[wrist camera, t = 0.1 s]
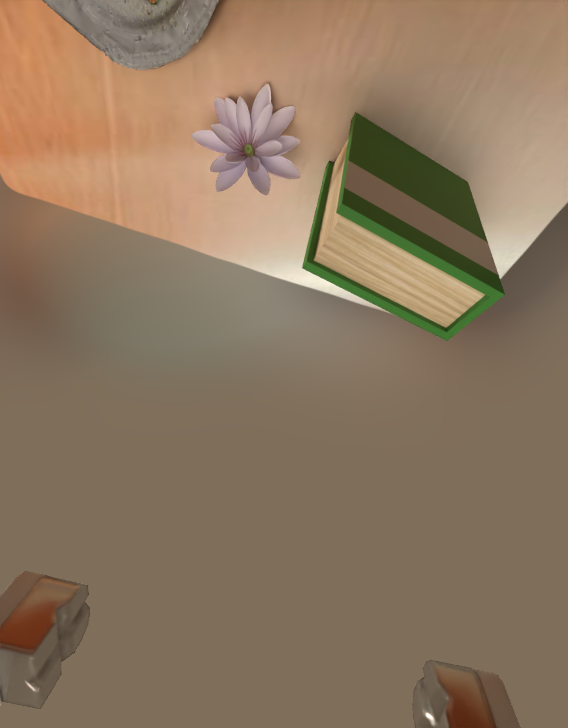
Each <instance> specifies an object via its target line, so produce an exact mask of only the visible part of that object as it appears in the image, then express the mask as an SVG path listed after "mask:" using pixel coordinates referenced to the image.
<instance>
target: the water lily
mask: <svg viewBox="0 0 568 728" xmlns="http://www.w3.org/2000/svg"><path fill="white" fill-rule="evenodd" d="M214 106H215V111H216V114H217V117H218V119H219V121H220V123H221V124H212V125H211V128H212V130H213V131H210V130H200V131H196V132H194V133H193V134H192V135H191V136H192V138H193V139H194V140H195V141H196V142H198V143H199V144H200V145H202V146H204V147H206V148H208V149H211V150H213V151H217V152H220V153H225V154H226V155H223V156H221V157H219V158H217V159H216V160H215V161H214V162H213V163H212V165H211V167H210V171H212V172H220V173H219V175H218V177H217V180H216V191H217V192H220V191H223V190H226V189H228V188H229V187H231V186H232V185H233V184H234V183H235V182H236V181H237V180H238V179H239V178H240V177H241V176H242V174H243V173H244V171H245V169H246V167H247V172H248V176H249V178H250V180H251V182H252V184H253V186H254V187H255V188H256V189H257V190H258V191H259V192H260V193H262V194H264V195H268V193H269V191H270V177H269V175H268V172H269V173H271V174H273V175H275V176H278V177H281V178H286V179H297V178H300V172H299V170H298V168H297V167H296V166H295V165H294V164H293V163H292V162H291V161H290V160H288V159H287V158H285V157H282V156H280V155H282V154H285V153H287V152H289V151H290V150H292V149H294V148H295V147H297V146H298V145H299V144H300V141H299V140H298V139H297V138H296V137H293V136H281V134H282V133H283V132H284V131H285V130H286V128H287V127H288V126H289V124H290V122H291V121H292V119H293V116H294V114H295V107H294V106H287V107H284V108H281V109H280V110H278V111H276V112H275V113H274V114H273V115H272V110H273V105H272V104H271V90H270V86H269V84H266V85H265V86H264V87H262V89H261V90H260V91H259V93H258V94H257V96H256V98H255V101H254V103H253V107H252V111H251V115H250V114H249V110H248V107H247V105H246V103H245V101H244V100H243V98H242V97H239V98H238V101H237V105H236V104H235V102H234V101H232V100H231V99H230V98H226V99H225V101H224V100H223V99H221V98H215V101H214Z"/></svg>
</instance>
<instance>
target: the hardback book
mask: <svg viewBox="0 0 568 728" xmlns="http://www.w3.org/2000/svg"><path fill="white" fill-rule="evenodd" d="M302 268H303V269H305V270H307V271H309V272H311V273H313V274H315V275H317V276H319V277H321V278H323V279H325V280H327V281H329V282H331V283H333V284H335V285H337V286H339V287H341V288H343V289H345V290H347V291H349V292H351V293H353V294H355V295H357V296H359V297H361V298H363V299H365V300H367V301H369V302H371V303H373V304H375V305H377V306H379V307H381V308H383V309H385V310H386V311H388V312H390V313H392V314H394V315H396V316H399V317H401V318H403V319H404V320H406V321H408V322H411V323H412V324H414V325H417V326H418V327H420V328H422V329H424V330H426V331H428V332H430V333H432V334H434V335H436V336H439V337H440V338H442V339H444V340H446V341H447V340H449V339H450V338H451V337H452V336H454V335H455V334H456V333H457V332H459V331H460V330H461V329H462V328H464V327H465V326H466V325H467V324H468V323H470V322H471V321H472V320H474V319H475V318H476V317H477V316H479V315H480V314H481V313H482V312H484V311H485V310H486V309H487V308H489V307H490V306H491V305H492V304H494V303H495V302H496V301H497V300H499V299H500V298H501V297H502V296H504V295H505V293H504V290H503V287H502V285H501V281H500V278H499V275H498V272H497V269H496V266H495V263H494V260H493V257H492V254H491V251H490V248H489V245H488V242H487V239H486V236H485V233H484V230H483V227H482V224H481V221H480V218H479V215H478V212H477V209H476V206H475V203H474V200H473V197H472V193H471V190H470V187H469V184H468V182H467V181H465V180H463V179H462V178H460V177H459V176H457V175H455V174H454V173H452V172H451V171H449V170H447V169H446V168H444V167H443V166H441V165H439V164H438V163H436V162H435V161H433V160H431V159H430V158H428V157H427V156H425V155H423V154H422V153H420V152H419V151H417V150H415V149H414V148H412V147H411V146H409V145H407V144H406V143H404V142H403V141H401V140H399V139H398V138H396V137H395V136H393V135H391V134H390V133H388V132H387V131H385V130H383V129H382V128H380V127H378V126H377V125H375V124H374V123H372V122H370V121H369V120H367V119H366V118H364V117H362V116H361V115H359V114H358V113H356V112H355V114H354V116H353V118H352V120H351V126H350V132H349V138H348V140H347V141H346V143H345V145H344V147H343V149H342V150H341V152H340V154H339V156H338V158H337V160H336V161H335V163H332V162H330V161H329V163H328V165H327V166H326V170H325V174H324V178H323V182H322V187H321V191H320V195H319V199H318V203H317V208H316V212H315V216H314V220H313V224H312V229H311V233H310V237H309V241H308V246H307V250H306V254H305V258H304V262H303V267H302Z"/></svg>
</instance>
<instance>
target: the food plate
mask: <svg viewBox="0 0 568 728" xmlns="http://www.w3.org/2000/svg"><path fill="white" fill-rule="evenodd" d="M43 1H44V3H46V4H47V5H48V6H49V7H50V8H51V9H53V10H54V11H55V12H56V13H57V14H58V15H59V16H61V18H63V19H64V20H65V21H66V22H67V23H69V24H70V25H72V27H73V28H74V29H75V30H77V31H78V32H79V33H80V34H81V35H83V36H84V37H85V38H86V39H87V40H89V42H90V43H92V44H93V45H94V46H95V47H96V48H98V49H99V50H100V51H101V52H102V51H104V53H105V55H106V56H109V58H110V59H111V60H112V61H113V62H115V63H117V64H120V65H123V66H125V67H127V68H132V69H135V70H147V69H156V67H157V68H158V67H160V66H164V64H166V63H170V62H172V61H175V60H176V59H177V60H178V59H180V58H181V56H182V57H183V55H184V54H186V53H187V52H188V51H189V50H190V49H191V48H192V47H193V46H194V44H195V43H196V42H198V41H199V40H200V39H201V38H200V37H201V35H202V34H203V32H205V29H206V27H207V26H208V24H209V22H210V20H211V17H212V14H213V13H214V11H215V8H216V7H217V4H218V2H219V0H43ZM102 53H103V52H102Z"/></svg>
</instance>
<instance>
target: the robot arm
mask: <svg viewBox="0 0 568 728" xmlns="http://www.w3.org/2000/svg"><path fill="white" fill-rule="evenodd" d="M88 595H89V592H88V585H85V584H81V583H76V582H72V581H67V580H63V579H58V578H54V577H50V576H47V575H43V574H38V573H33V572H28V571H25V572H23V573H22V574H21V575H19V576H18V577H16V578H15V580H14V581H13V582H12V583H11V584H10V585H9V586H8V587H7V589H6V590H5V591H4V592H3V593H2V594H1V595H0V706H1V705H2V702H7V703H12V704H17V705H22V706H27V707H32V708H37V709H41V708H42V706H43V704H44V703H45V701H46V699H47V698H48V696H49V695H50V693H51V691H52V690H53V688H54V686H55V684H56V683H57V681H58V679H59V677H60V676H61V662H62V661H64V660H65V659H66V658H68V657H69V656H70V655H72V654H73V653H75V651H76V649H77V647H78V646H79V644H80V642H81V640H82V638H83V636H84V633H85V631H86V628H87V626H88V622H89V617H90V608H89V606H88V605H87V604H86V603H85V600H86V599H87V597H88ZM423 671H424V678H422V679H420V680H418V681H417V683H416V686H415V688H414V693H413V718H414V724H415V728H520V726H519V723H518V721H517V718H516V715H515V713H514V710H513V708H512V705H511V702H510V699H509V697H508V694H507V692H506V689H505V686H504V684H503V682H502V680H501V679H500V678H499V676H498V675H496V674H494V673H489V672H485V671H480V670H475V669H472V668H469V667H463V666H459V665H453V664H448V663H444V662H439V661H433V660H429V661H426V663H425V665H424V667H423Z"/></svg>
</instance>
